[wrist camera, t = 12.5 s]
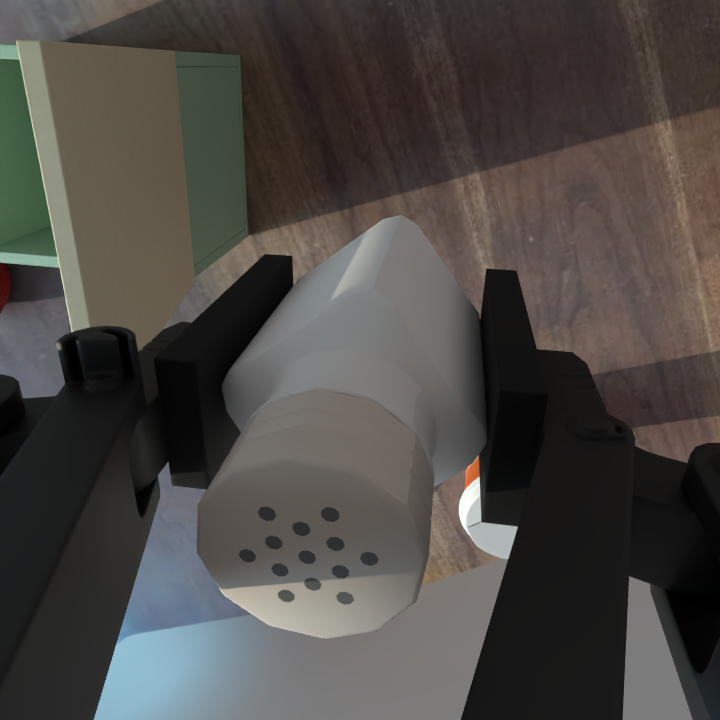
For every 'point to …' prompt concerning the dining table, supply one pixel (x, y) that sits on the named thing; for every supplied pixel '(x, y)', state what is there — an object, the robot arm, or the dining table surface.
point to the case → (201, 156)
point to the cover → (112, 180)
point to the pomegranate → (4, 285)
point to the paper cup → (483, 534)
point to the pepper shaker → (346, 438)
